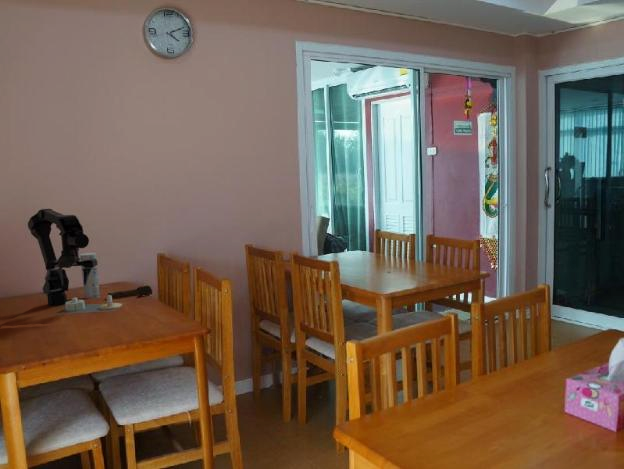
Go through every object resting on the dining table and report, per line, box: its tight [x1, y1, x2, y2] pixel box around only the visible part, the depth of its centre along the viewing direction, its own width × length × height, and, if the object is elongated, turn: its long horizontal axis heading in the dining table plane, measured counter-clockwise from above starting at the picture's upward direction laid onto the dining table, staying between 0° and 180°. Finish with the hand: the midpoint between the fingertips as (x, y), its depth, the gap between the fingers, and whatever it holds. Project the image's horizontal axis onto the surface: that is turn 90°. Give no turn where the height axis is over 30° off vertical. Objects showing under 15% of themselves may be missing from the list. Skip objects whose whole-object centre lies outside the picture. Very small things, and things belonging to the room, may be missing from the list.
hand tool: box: [107, 285, 153, 300], centre depth 250 cm, size 19×4×5 cm, turn 119°
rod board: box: [58, 294, 125, 315], centre depth 230 cm, size 22×14×6 cm, turn 91°
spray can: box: [79, 252, 100, 299], centre depth 253 cm, size 6×6×20 cm
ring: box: [64, 299, 86, 311], centre depth 230 cm, size 7×7×3 cm
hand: (73, 285), depth 229 cm, fingers open, 9 cm apart
